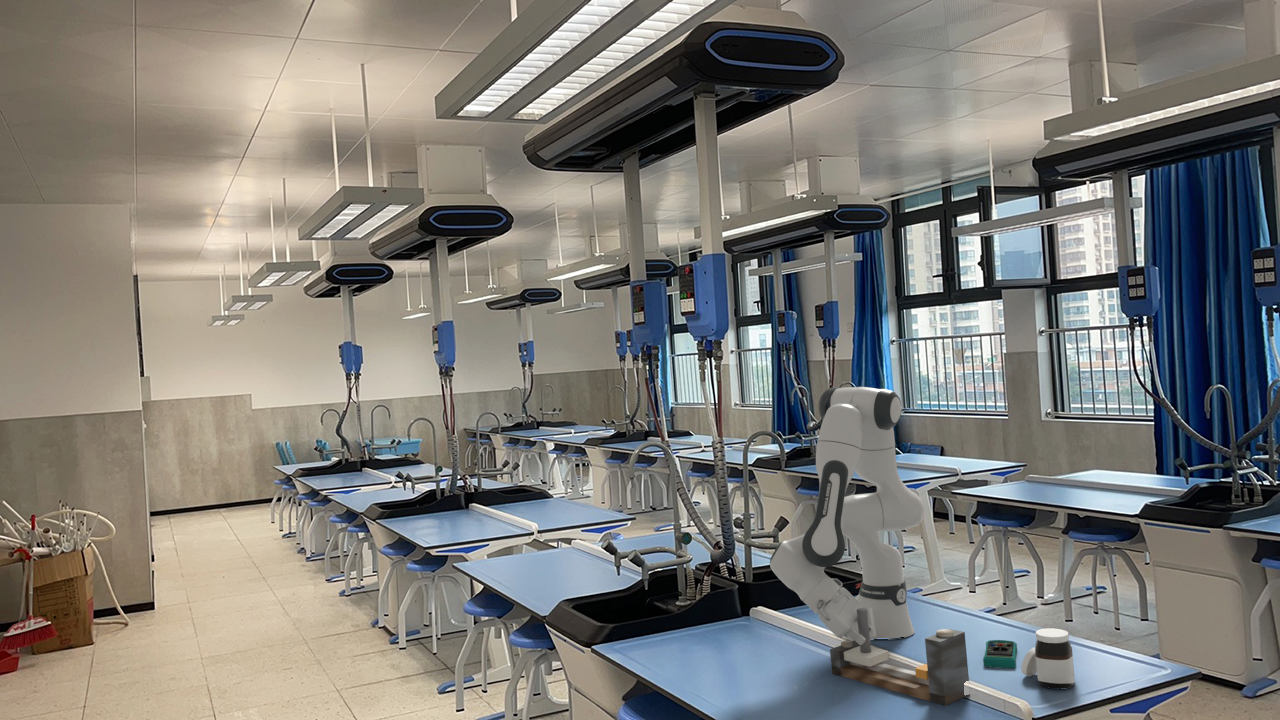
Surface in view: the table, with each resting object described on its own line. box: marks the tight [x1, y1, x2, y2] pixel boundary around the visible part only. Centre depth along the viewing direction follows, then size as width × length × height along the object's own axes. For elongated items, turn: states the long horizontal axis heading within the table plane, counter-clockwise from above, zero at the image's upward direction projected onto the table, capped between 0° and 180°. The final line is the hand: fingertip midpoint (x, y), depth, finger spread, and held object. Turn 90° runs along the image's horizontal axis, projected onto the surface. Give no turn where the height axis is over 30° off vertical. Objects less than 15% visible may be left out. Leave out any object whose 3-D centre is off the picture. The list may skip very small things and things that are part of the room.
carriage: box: [844, 608, 890, 667], centre depth 227 cm, size 8×7×12 cm
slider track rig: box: [829, 628, 970, 707], centre depth 220 cm, size 33×9×15 cm, turn 36°
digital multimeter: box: [982, 639, 1018, 669], centre depth 231 cm, size 7×15×3 cm, turn 157°
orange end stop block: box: [914, 663, 928, 680], centre depth 213 cm, size 3×5×2 cm, turn 126°
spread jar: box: [1021, 627, 1076, 690], centre depth 213 cm, size 12×11×12 cm
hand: (866, 636), depth 227 cm, fingers open, 8 cm apart
